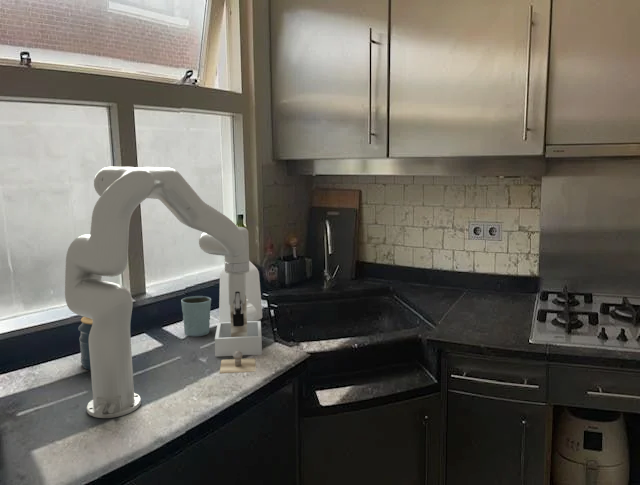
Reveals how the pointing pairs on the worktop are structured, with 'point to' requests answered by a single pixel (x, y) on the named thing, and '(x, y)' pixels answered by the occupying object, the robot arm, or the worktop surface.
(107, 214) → the robot arm
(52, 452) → the worktop surface
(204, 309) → the teal cup
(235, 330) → the strut
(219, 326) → the bin
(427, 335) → the worktop surface
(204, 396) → the worktop surface
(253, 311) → the spinning top
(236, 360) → the square lid with knob
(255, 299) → the milk
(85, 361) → the canister
